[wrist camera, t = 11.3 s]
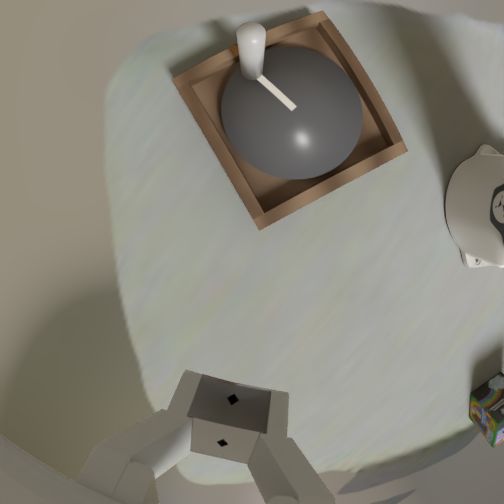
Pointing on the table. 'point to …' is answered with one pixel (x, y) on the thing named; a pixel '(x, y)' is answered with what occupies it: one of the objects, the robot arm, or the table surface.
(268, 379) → the table surface
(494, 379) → the chalk box
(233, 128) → the dial
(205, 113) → the dial housing
